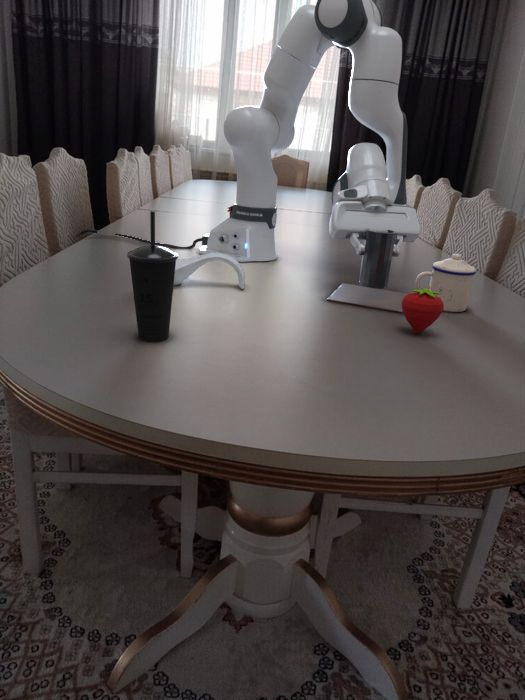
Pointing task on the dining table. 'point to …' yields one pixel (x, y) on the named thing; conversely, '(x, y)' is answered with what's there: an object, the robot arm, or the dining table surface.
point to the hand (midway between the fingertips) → (378, 254)
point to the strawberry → (422, 308)
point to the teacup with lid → (451, 282)
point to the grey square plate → (368, 297)
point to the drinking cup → (152, 287)
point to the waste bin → (377, 259)
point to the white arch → (192, 264)
